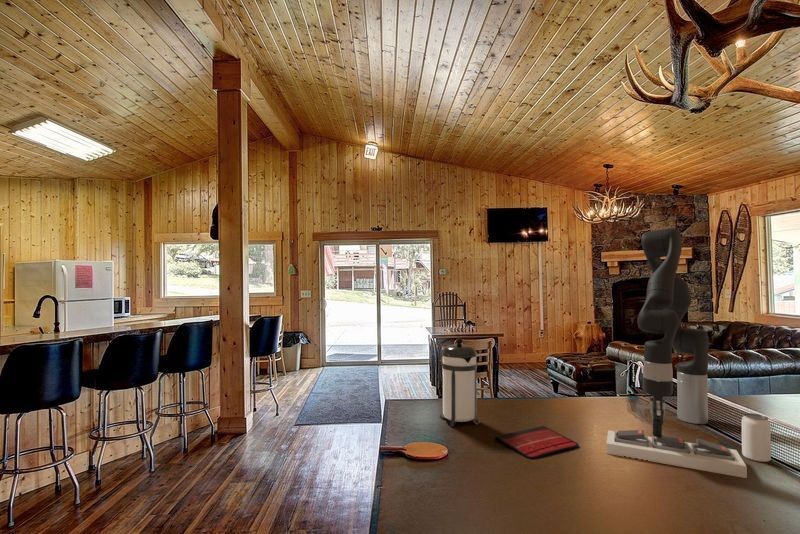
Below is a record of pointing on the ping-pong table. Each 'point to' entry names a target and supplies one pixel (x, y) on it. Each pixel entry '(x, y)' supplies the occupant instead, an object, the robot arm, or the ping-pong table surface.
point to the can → (756, 437)
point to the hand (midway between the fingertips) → (657, 435)
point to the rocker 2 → (671, 441)
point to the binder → (536, 442)
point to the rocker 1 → (631, 434)
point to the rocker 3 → (712, 447)
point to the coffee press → (459, 383)
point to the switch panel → (677, 455)
